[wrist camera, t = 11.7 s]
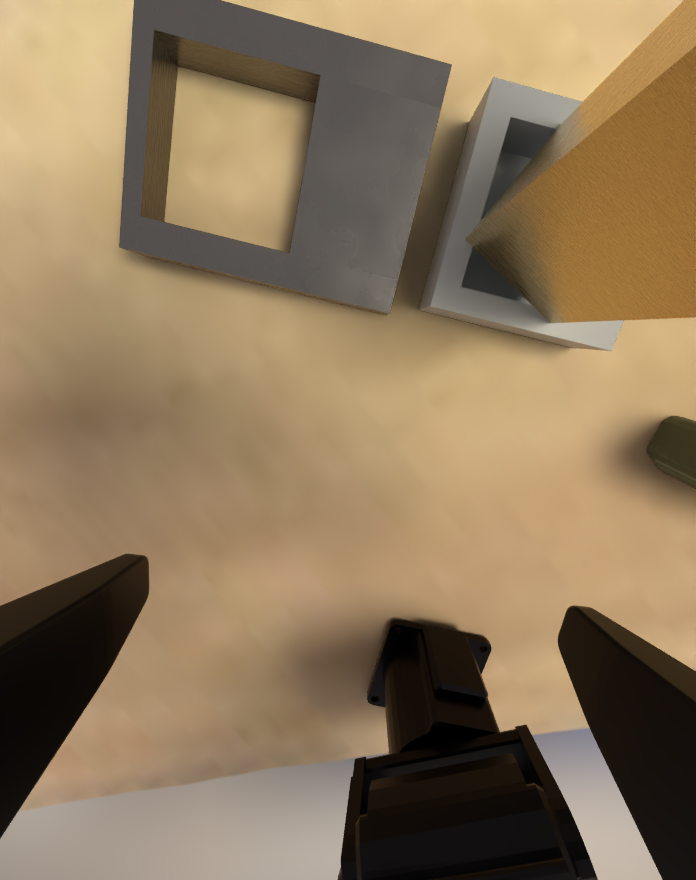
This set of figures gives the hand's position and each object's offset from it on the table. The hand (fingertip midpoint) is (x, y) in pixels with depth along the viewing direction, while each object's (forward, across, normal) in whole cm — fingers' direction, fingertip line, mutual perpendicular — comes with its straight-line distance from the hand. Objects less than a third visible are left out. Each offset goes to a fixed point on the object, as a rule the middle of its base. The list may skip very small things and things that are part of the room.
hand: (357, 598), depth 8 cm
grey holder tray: (+13, +5, -12) cm, 18 cm away
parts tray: (+13, -7, -10) cm, 18 cm away
